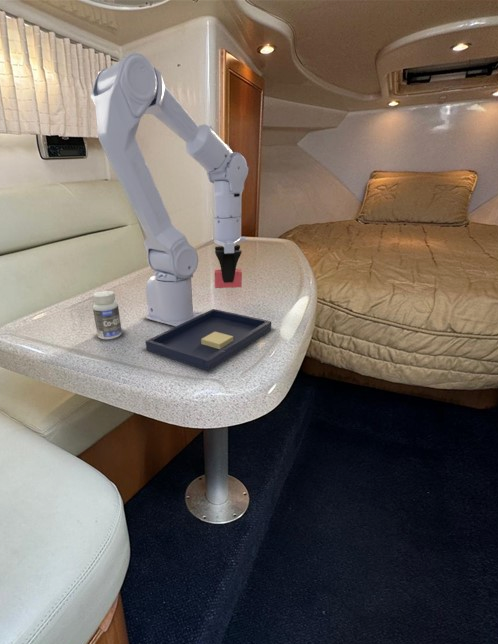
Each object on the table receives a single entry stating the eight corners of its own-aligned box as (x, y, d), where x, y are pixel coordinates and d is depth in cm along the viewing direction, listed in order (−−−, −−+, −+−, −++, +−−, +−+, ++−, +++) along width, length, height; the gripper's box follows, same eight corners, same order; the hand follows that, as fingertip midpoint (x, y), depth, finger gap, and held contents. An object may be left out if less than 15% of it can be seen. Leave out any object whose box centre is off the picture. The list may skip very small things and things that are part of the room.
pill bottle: (107, 342, 68) (99, 299, 64) (93, 336, 71) (85, 294, 68) (127, 333, 71) (121, 292, 67) (112, 328, 74) (106, 288, 71)
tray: (146, 350, 64) (145, 340, 63) (213, 316, 77) (213, 308, 76) (208, 371, 55) (207, 361, 55) (271, 330, 68) (271, 321, 68)
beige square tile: (201, 344, 63) (200, 338, 63) (214, 336, 66) (214, 331, 65) (219, 349, 61) (219, 344, 60) (233, 341, 63) (233, 336, 63)
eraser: (215, 288, 83) (214, 273, 81) (214, 284, 85) (214, 269, 84) (241, 287, 82) (241, 271, 81) (240, 283, 85) (240, 268, 83)
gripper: (250, 219, 70) (248, 287, 76) (243, 212, 83) (243, 271, 89) (213, 221, 71) (214, 289, 77) (213, 214, 84) (214, 272, 90)
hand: (227, 279), depth 83 cm, fingers closed on eraser, 3 cm apart
